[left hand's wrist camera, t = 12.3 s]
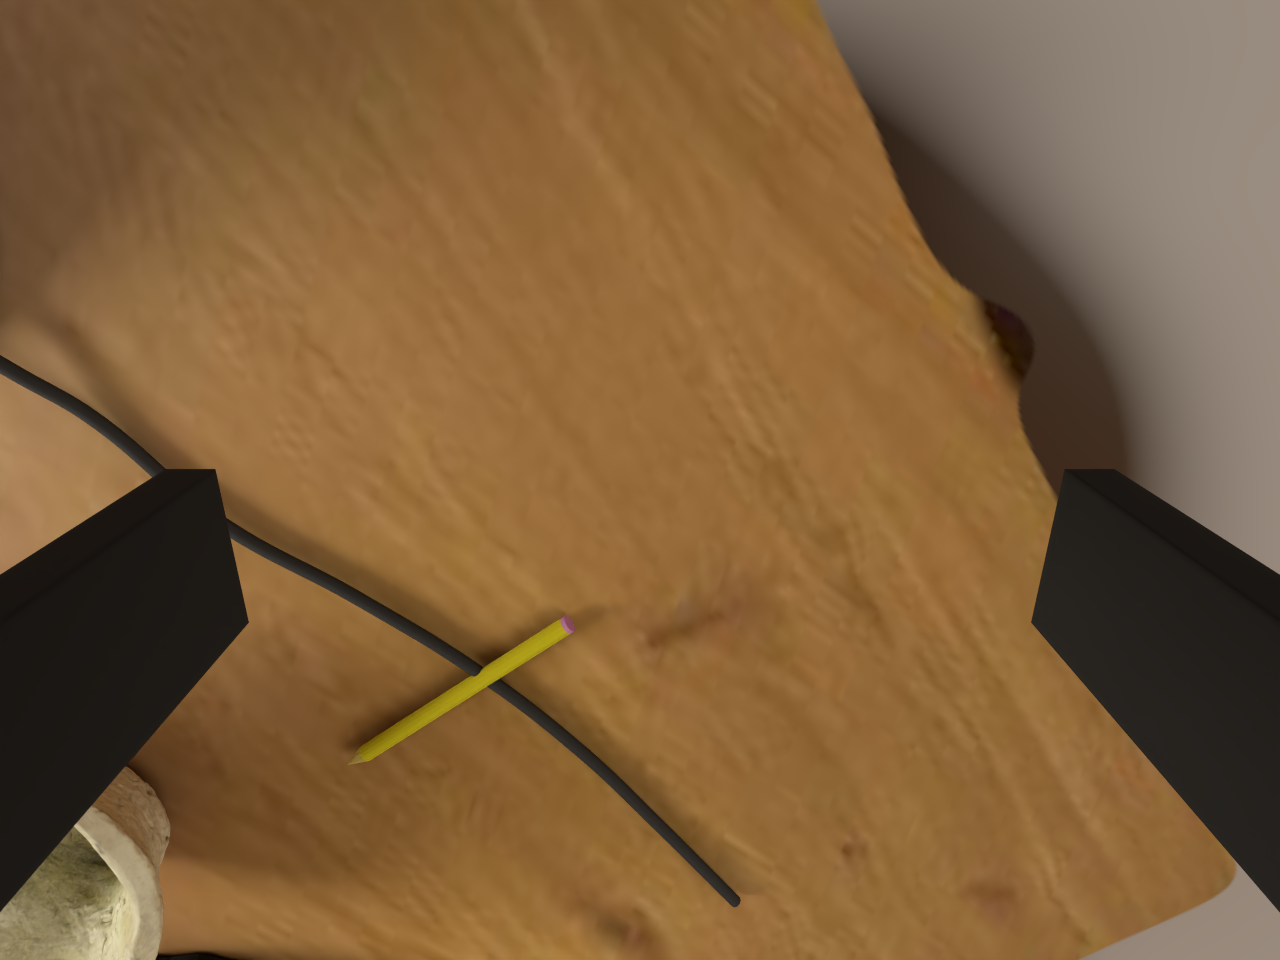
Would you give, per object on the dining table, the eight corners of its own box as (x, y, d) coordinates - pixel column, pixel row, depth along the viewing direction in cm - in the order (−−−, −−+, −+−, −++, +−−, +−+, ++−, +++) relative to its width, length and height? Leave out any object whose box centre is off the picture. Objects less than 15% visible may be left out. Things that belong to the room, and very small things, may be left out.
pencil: (564, 612, 42) (563, 621, 41) (575, 624, 43) (574, 634, 42) (344, 753, 46) (337, 765, 45) (355, 764, 46) (349, 776, 45)
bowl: (213, 832, 54) (-21, 1009, 47) (43, 636, 46) (-267, 812, 39) (263, 956, 43) (-30, 1208, 36) (53, 728, 36) (-369, 992, 29)
